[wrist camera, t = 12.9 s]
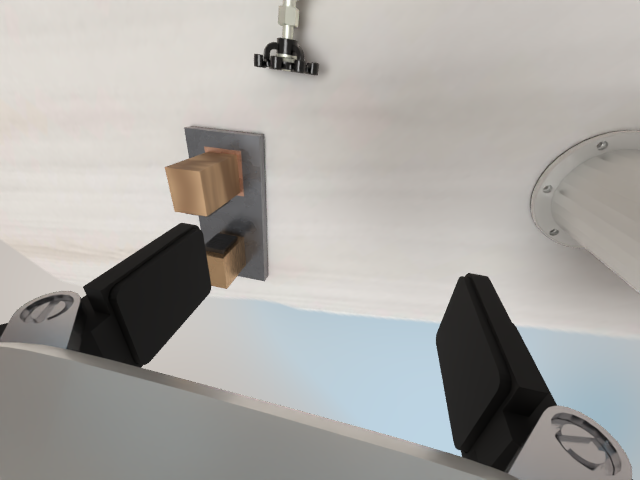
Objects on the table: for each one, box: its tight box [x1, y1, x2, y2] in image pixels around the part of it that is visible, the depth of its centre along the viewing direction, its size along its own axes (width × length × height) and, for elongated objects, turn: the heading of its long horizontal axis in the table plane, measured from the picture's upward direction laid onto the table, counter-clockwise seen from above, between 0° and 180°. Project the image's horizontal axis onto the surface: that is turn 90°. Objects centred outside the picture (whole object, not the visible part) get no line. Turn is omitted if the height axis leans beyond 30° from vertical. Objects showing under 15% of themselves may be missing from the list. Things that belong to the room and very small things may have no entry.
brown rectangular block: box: [165, 152, 240, 217], centre depth 33 cm, size 4×6×8 cm
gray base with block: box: [184, 126, 268, 289], centre depth 38 cm, size 10×22×8 cm, turn 176°
